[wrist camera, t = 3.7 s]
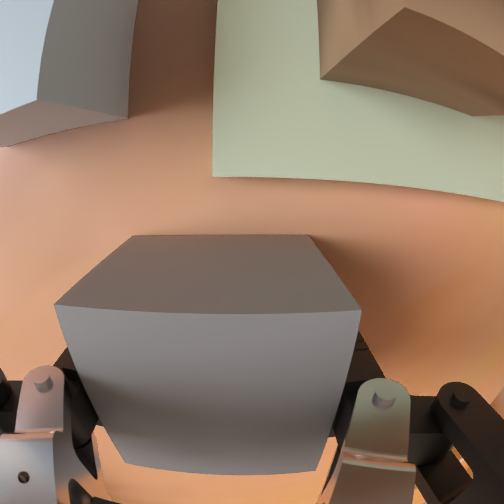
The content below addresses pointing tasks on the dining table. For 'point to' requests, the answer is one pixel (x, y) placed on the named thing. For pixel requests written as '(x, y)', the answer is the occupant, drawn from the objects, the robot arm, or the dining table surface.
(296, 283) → the grey block
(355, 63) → the walnut block
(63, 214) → the dining table surface
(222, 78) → the plate
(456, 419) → the robot arm
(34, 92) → the blue block
